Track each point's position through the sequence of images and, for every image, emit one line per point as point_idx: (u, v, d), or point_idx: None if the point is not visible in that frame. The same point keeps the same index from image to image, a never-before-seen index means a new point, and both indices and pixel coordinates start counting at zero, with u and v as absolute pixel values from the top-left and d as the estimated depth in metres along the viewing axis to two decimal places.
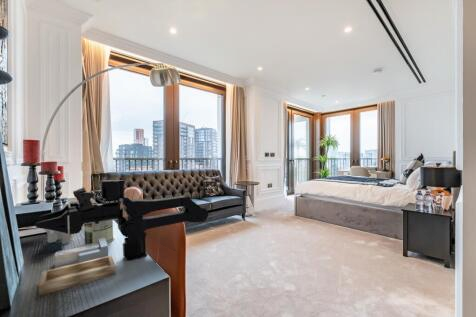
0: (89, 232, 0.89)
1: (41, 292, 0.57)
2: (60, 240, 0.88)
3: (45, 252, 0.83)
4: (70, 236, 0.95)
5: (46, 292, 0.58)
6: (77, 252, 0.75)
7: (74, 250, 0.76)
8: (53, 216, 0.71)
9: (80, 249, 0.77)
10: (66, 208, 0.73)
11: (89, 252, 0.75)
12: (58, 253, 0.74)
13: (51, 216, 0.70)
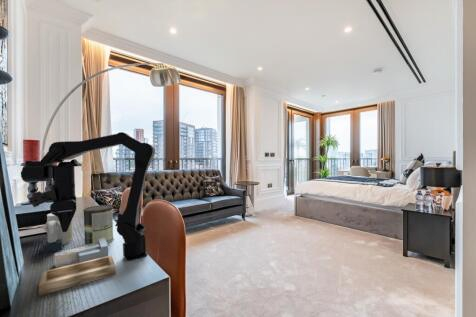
0: (89, 232, 0.89)
1: (41, 292, 0.57)
2: (60, 240, 0.88)
3: (45, 252, 0.83)
4: (70, 236, 0.95)
5: (46, 292, 0.58)
6: (78, 252, 0.75)
7: (74, 250, 0.76)
8: None
9: (80, 249, 0.77)
10: None
11: (89, 252, 0.75)
12: (58, 254, 0.74)
13: None
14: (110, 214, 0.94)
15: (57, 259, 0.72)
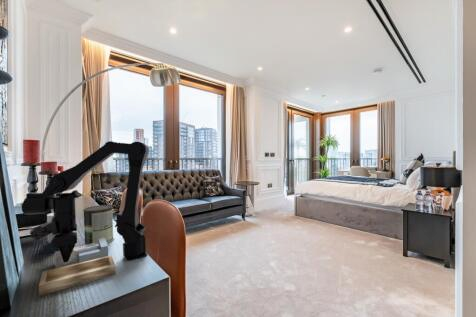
0: (89, 232, 0.89)
1: (41, 292, 0.57)
2: None
3: (45, 252, 0.83)
4: None
5: (46, 292, 0.58)
6: (77, 251, 0.75)
7: (74, 249, 0.76)
8: None
9: (80, 248, 0.77)
10: None
11: (89, 252, 0.75)
12: (58, 252, 0.74)
13: None
14: (110, 214, 0.94)
15: (57, 258, 0.72)
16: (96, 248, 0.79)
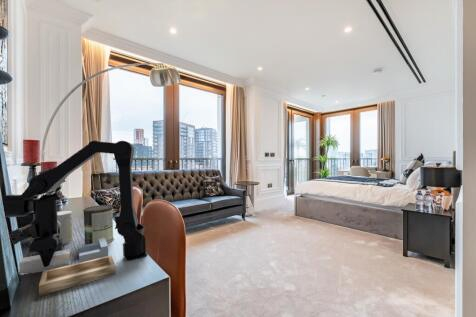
0: (89, 232, 0.89)
1: (41, 292, 0.57)
2: (60, 240, 0.88)
3: None
4: (70, 236, 0.95)
5: (46, 292, 0.58)
6: None
7: None
8: None
9: None
10: None
11: (89, 252, 0.75)
12: (25, 259, 0.70)
13: None
14: (110, 214, 0.94)
15: (21, 265, 0.68)
16: (66, 256, 0.73)
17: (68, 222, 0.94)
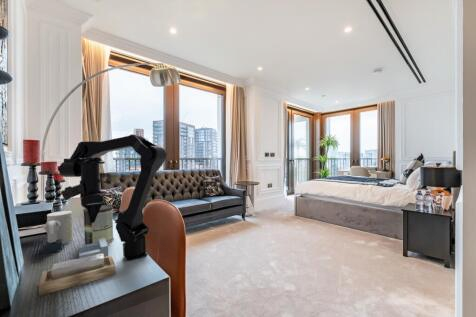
0: (89, 232, 0.89)
1: (41, 292, 0.57)
2: (60, 240, 0.88)
3: (45, 252, 0.83)
4: (70, 236, 0.95)
5: (46, 292, 0.58)
6: (78, 264, 0.64)
7: (75, 262, 0.65)
8: None
9: (82, 260, 0.66)
10: None
11: (89, 252, 0.75)
12: (56, 265, 0.63)
13: None
14: (110, 214, 0.94)
15: (53, 272, 0.61)
16: (100, 261, 0.67)
17: (68, 222, 0.94)
